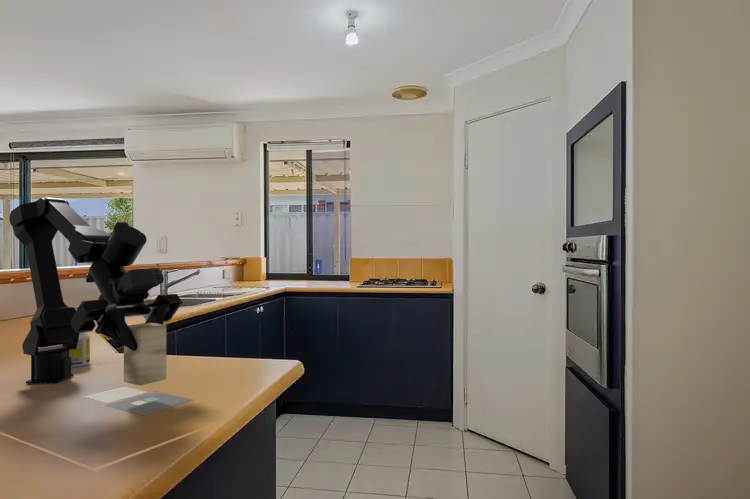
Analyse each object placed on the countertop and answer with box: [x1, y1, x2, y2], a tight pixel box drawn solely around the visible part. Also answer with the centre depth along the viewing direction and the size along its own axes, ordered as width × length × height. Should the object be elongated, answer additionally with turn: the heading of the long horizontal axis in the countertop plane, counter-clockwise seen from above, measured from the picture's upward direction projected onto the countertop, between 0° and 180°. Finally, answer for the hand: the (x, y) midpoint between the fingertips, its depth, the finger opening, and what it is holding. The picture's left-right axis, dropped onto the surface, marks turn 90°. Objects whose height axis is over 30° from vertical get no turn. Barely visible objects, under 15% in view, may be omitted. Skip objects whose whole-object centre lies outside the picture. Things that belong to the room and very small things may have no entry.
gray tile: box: [104, 391, 194, 416], centre depth 85 cm, size 11×10×1 cm
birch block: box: [123, 323, 167, 386], centre depth 86 cm, size 5×5×10 cm
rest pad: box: [83, 386, 149, 404], centre depth 91 cm, size 8×8×1 cm
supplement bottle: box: [69, 332, 91, 368], centre depth 118 cm, size 5×5×10 cm
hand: (149, 346), depth 86 cm, fingers closed on birch block, 5 cm apart
